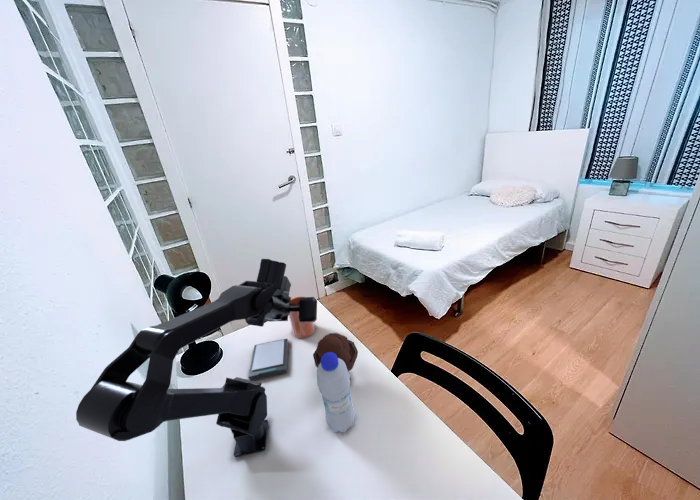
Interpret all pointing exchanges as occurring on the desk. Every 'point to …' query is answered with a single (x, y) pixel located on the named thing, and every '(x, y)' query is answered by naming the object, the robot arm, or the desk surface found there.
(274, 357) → the scale
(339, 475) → the desk surface
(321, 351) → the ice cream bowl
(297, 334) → the tumbler
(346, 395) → the bottle
